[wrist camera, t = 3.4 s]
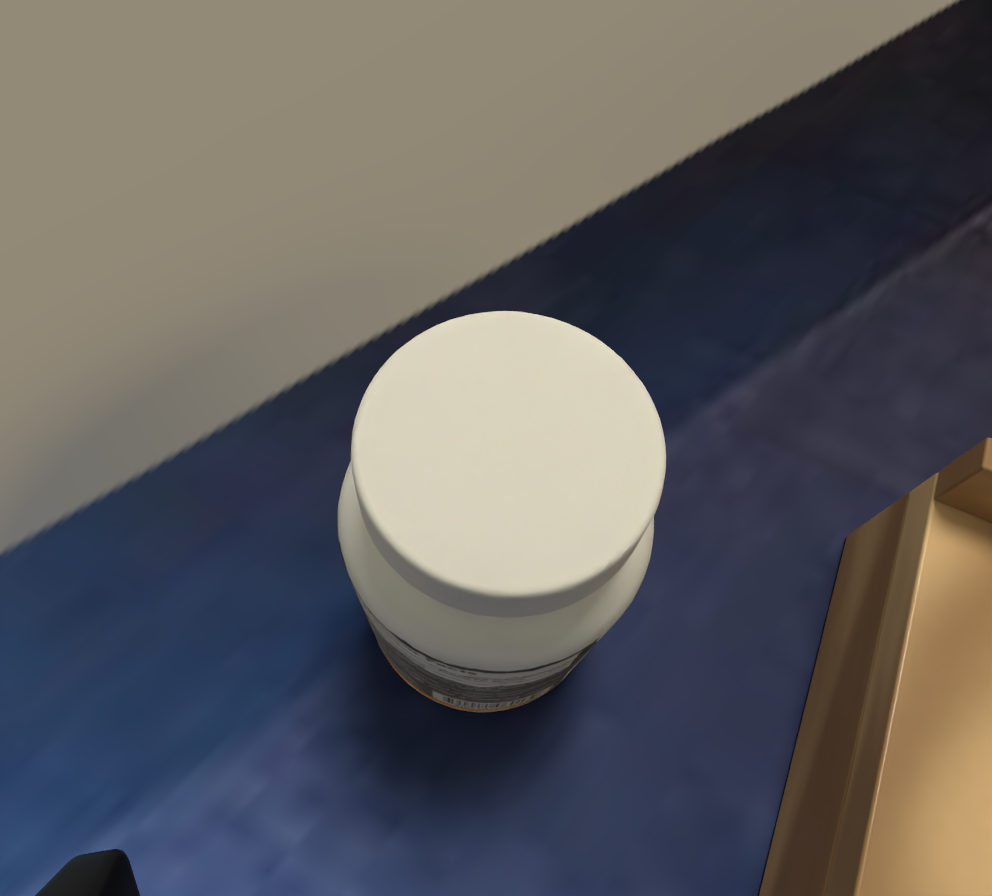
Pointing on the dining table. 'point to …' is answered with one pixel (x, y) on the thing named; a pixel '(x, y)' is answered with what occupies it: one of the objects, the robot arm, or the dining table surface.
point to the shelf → (900, 707)
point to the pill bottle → (499, 504)
